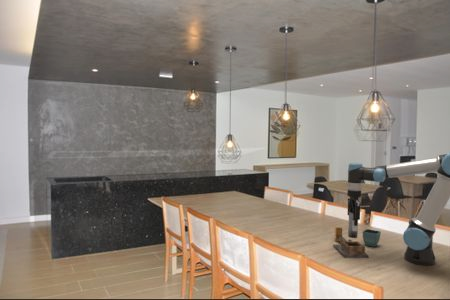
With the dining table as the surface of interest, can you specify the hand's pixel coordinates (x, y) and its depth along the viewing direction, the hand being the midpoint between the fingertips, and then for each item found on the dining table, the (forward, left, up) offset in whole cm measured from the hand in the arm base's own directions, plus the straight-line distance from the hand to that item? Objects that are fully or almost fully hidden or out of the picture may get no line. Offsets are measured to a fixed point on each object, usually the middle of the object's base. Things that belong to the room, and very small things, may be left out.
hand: (353, 229), depth 197 cm
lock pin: (0, -15, -14) cm, 20 cm away
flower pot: (-18, -16, -15) cm, 28 cm away
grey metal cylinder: (0, 0, -4) cm, 4 cm away
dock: (0, -3, -14) cm, 15 cm away
